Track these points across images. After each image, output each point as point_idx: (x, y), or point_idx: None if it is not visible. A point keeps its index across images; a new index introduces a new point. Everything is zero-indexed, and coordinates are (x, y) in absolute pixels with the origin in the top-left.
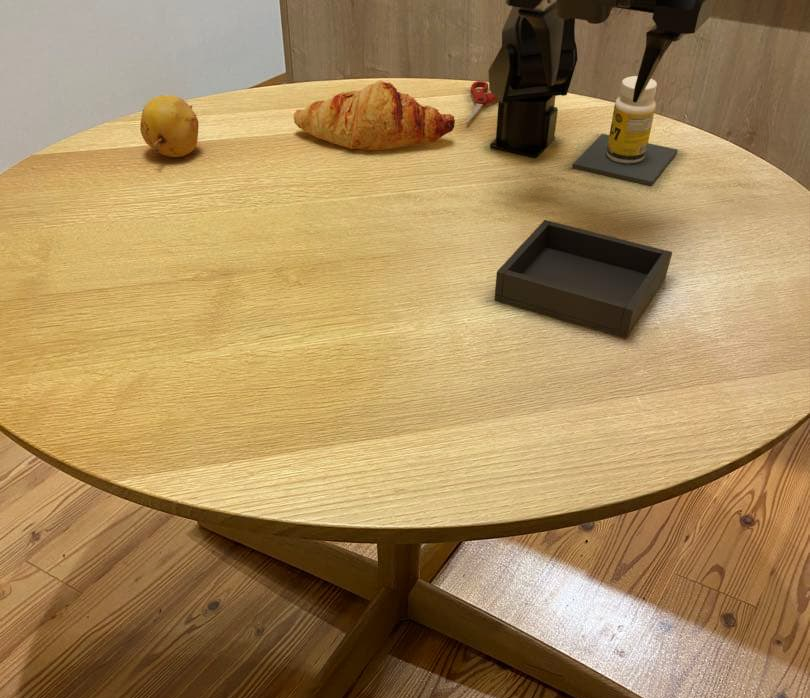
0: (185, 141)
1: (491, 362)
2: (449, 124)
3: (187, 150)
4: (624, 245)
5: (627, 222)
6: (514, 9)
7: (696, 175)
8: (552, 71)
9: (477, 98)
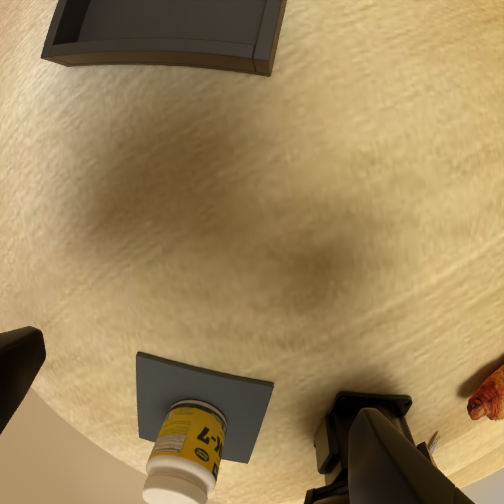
0: None
1: None
2: (477, 401)
3: None
4: (104, 39)
5: (138, 220)
6: None
7: (98, 386)
8: (375, 443)
9: None
